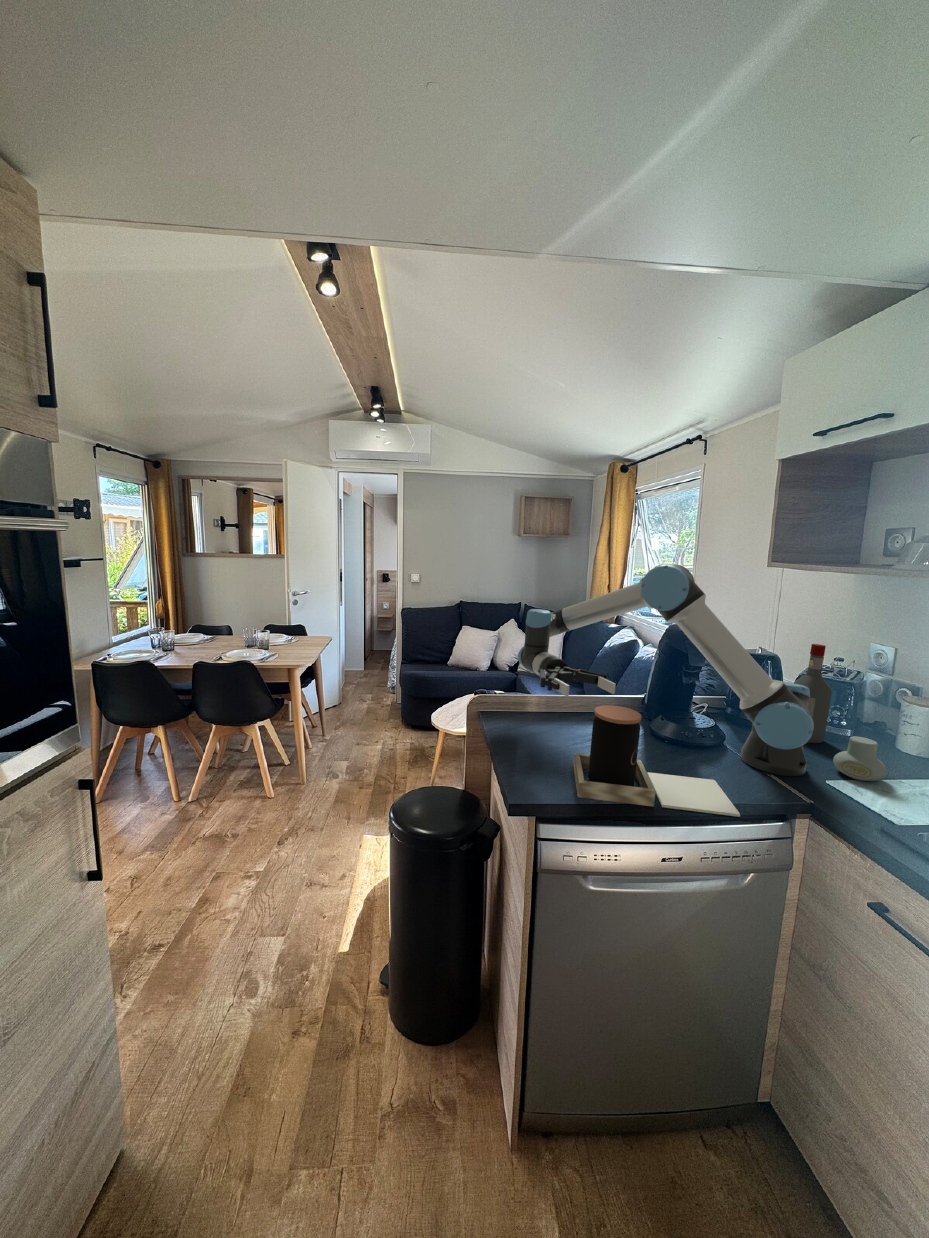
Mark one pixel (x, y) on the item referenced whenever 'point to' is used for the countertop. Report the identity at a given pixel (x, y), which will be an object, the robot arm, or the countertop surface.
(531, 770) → the countertop surface
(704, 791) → the cream mat
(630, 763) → the coffee jar
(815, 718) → the liquor
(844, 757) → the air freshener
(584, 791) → the birch corral
